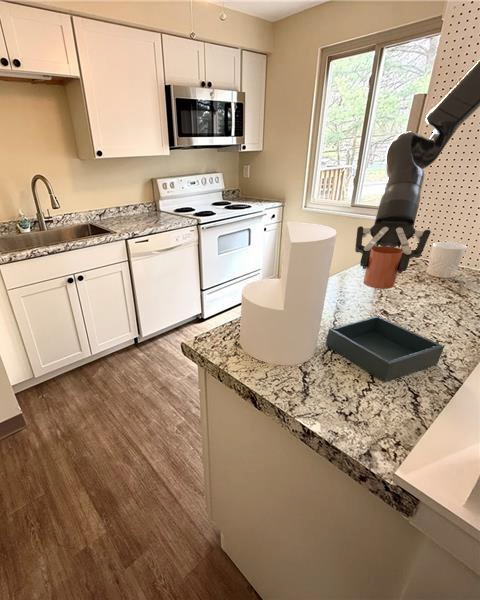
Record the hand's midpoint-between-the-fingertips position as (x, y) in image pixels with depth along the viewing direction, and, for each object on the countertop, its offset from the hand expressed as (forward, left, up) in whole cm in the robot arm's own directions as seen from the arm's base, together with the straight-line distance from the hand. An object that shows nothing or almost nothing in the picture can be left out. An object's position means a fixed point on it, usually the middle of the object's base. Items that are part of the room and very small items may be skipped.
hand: (381, 269), depth 71 cm
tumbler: (-1, -1, -4) cm, 5 cm away
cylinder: (+24, -4, -16) cm, 29 cm away
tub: (+7, +9, -16) cm, 20 cm away
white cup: (-49, -15, -16) cm, 54 cm away
